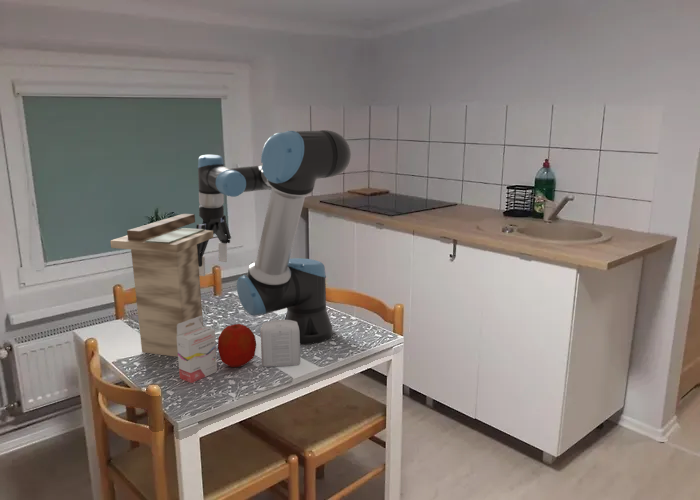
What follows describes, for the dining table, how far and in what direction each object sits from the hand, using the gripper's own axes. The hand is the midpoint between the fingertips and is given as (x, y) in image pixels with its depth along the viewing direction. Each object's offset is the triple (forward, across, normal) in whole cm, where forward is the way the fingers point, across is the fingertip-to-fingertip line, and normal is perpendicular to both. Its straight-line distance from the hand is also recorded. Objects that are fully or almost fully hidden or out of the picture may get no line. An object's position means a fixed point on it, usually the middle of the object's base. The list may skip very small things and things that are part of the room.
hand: (212, 268), depth 183 cm
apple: (+12, +32, +27) cm, 44 cm away
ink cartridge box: (+12, +41, +20) cm, 47 cm away
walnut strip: (-18, +20, -3) cm, 27 cm away
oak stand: (+14, +28, +4) cm, 32 cm away
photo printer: (+11, +29, +38) cm, 49 cm away
